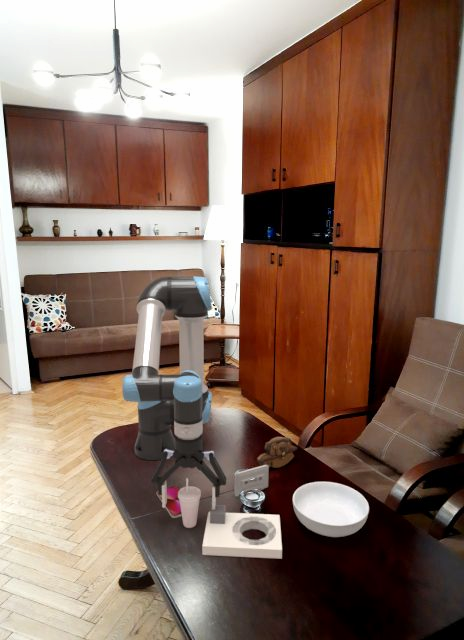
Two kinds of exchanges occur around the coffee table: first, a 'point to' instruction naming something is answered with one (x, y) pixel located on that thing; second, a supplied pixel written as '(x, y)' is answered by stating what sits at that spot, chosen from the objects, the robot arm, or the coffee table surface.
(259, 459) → the wooden carving
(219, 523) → the dock plate
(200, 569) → the coffee table surface
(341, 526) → the serving bowl
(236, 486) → the cassette
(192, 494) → the smoothie
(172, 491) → the smartphone
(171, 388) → the robot arm
